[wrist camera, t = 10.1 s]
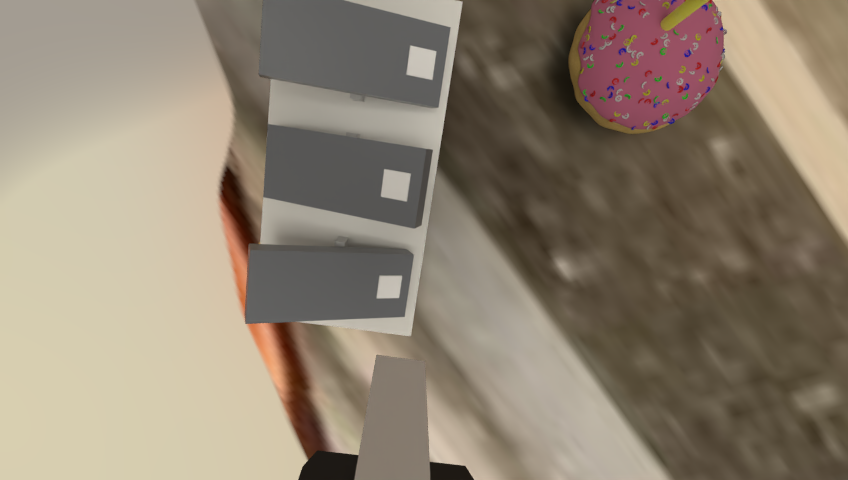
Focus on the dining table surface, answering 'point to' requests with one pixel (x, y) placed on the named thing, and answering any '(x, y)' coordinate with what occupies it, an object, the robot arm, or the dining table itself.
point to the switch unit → (373, 123)
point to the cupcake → (645, 61)
